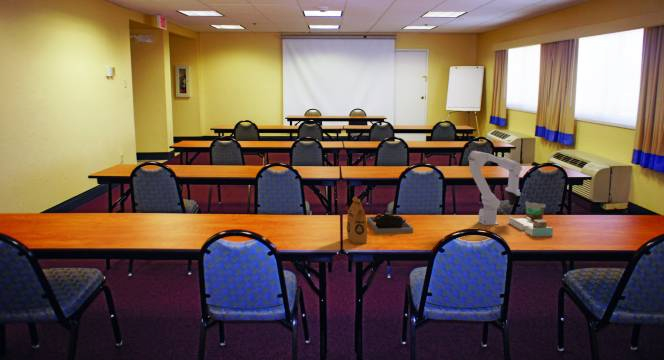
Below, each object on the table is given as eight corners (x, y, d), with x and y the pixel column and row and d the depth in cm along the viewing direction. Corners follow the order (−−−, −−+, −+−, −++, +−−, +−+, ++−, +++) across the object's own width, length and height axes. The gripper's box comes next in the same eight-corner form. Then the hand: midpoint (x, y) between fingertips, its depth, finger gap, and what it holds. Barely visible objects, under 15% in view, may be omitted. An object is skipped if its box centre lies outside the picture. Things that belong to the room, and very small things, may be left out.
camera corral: (377, 233, 275) (377, 229, 274) (367, 220, 300) (367, 216, 300) (412, 232, 278) (413, 228, 277) (400, 219, 303) (400, 215, 302)
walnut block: (537, 231, 273) (538, 222, 272) (532, 228, 277) (533, 219, 277) (546, 230, 273) (547, 221, 272) (541, 228, 278) (542, 219, 277)
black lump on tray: (404, 226, 290) (404, 209, 288) (406, 232, 278) (406, 215, 276) (372, 225, 291) (373, 208, 289) (373, 232, 278) (373, 214, 277)
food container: (520, 217, 310) (521, 201, 308) (525, 216, 314) (526, 200, 312) (539, 221, 301) (541, 205, 299) (544, 220, 305) (546, 203, 303)
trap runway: (533, 236, 272) (533, 228, 271) (508, 222, 298) (509, 215, 297) (552, 235, 273) (553, 227, 272) (526, 222, 299) (527, 214, 298)
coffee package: (349, 245, 256) (350, 202, 251) (345, 237, 268) (346, 196, 264) (369, 244, 257) (370, 201, 253) (364, 237, 269) (364, 196, 265)
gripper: (526, 184, 290) (524, 207, 293) (513, 179, 304) (512, 202, 307) (514, 184, 289) (512, 208, 292) (502, 180, 303) (501, 202, 306)
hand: (511, 205), depth 299 cm, fingers closed
